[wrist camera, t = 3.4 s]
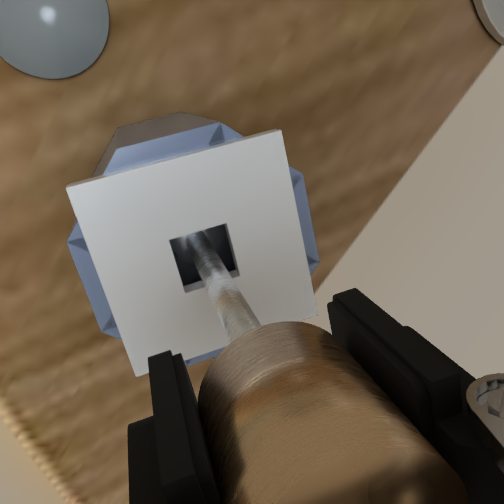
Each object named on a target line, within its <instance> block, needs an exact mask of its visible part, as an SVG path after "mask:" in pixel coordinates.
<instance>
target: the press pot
mask: <svg viewBox="0 0 504 504" xmlns="http://www.w3.org/2000/svg"><path fill="white" fill-rule="evenodd" d="M66 191H67V193H68V196H69V199H70V201H71V204H72V207H73V209H74V212H75V215H76V217H75V220H74V223H73V225H72V228H71V231H70V234H69V237H68V239H67V245H68V247H69V250H70V252H71V255H72V257H73V260H74V263H75V265H76V268H77V270H78V273H79V275H80V278H81V281H82V283H83V286H84V288H85V291H86V293H87V296H88V299H89V301H90V304H91V306H92V309H93V311H94V314H95V317H96V319H97V322H98V324H99V327H100V329H101V332H103V333H105V334H108V335H110V336H113V337H115V338H118V339H120V340H122V341H123V343H124V346H125V349H126V351H127V354H128V357H129V359H130V362H131V365H132V367H133V370H134V373H135V375H136V377H138V376H141V375H144V374H147V373H149V368H148V357H150V356H153V355H156V354H159V353H162V352H165V351H168V350H171V352H172V355H176V354H179V353H181V354H182V356H183V359H184V363H185V366H189V365H192V364H195V363H198V362H201V361H204V360H207V359H210V358H214V359H215V358H216V357H217V356H218V355H219V353H220V352H221V351H222V350H223V349H224V348H225V347H226V346H228V345H229V344H230V342H229V340H228V337H227V335H226V333H225V331H224V328H223V326H222V324H221V322H220V319H219V317H218V315H217V313H216V311H215V308H214V306H213V304H212V302H211V299H210V297H209V295H208V293H207V290H206V288H205V286H204V284H203V282H202V281H198V282H195V283H192V284H189V285H186V286H183V284H182V281H181V278H180V275H179V271H178V268H177V265H176V261H175V258H174V255H173V252H172V248H171V245H170V242H169V240H171V239H174V238H178V237H181V236H184V235H188V234H191V233H194V232H198V231H201V230H204V229H208V228H211V227H215V226H218V225H221V224H224V225H225V229H226V233H227V237H228V240H229V244H230V248H231V252H232V256H233V260H234V264H235V268H236V270H233V271H230V272H229V274H230V275H231V277H232V278H233V280H234V282H235V283H236V285H237V286H238V288H239V290H240V291H241V293H242V295H243V296H244V298H245V299H246V301H247V303H248V304H249V306H250V307H251V309H252V311H253V312H254V314H255V316H256V317H257V319H258V320H259V322H260V324H261V325H262V326H263V325H266V324H270V323H275V322H282V321H296V322H299V321H302V320H305V319H308V318H311V317H314V316H317V315H318V312H317V307H316V303H315V297H314V292H313V287H312V282H311V277H310V276H311V275H312V273H313V271H314V270H315V268H316V267H317V265H318V263H319V257H318V251H317V246H316V241H315V235H314V230H313V225H312V220H311V214H310V209H309V204H308V198H307V193H306V188H305V183H304V177H303V174H302V173H300V172H299V171H297V170H296V169H294V168H292V167H291V166H289V165H288V162H287V157H286V152H285V147H284V142H283V137H282V131H281V130H279V129H272V130H269V131H265V132H261V133H257V134H254V135H250V136H246V137H243V136H242V135H240V134H239V133H237V132H235V131H234V130H232V129H231V128H229V127H228V126H226V125H224V124H223V123H221V122H219V121H215V120H211V119H207V118H203V117H199V116H195V115H191V114H188V113H184V112H178V113H174V114H170V115H166V116H162V117H158V118H154V119H150V120H146V121H142V122H138V123H134V124H130V125H126V126H122V127H118V128H117V130H116V132H115V134H114V136H113V137H112V139H111V141H110V143H109V145H108V147H107V149H106V151H105V152H104V154H103V156H102V158H101V160H100V162H99V164H98V165H97V167H96V169H95V171H94V173H93V175H92V177H91V178H89V179H86V180H82V181H78V182H75V183H71V184H68V185H67V186H66Z"/></svg>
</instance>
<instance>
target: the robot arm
mask: <svg viewBox="0 0 504 504" xmlns="http://www.w3.org/2000/svg"><path fill="white" fill-rule="evenodd" d="M473 1H474V4H475V7H476V10H477V13H478V16H479V17H480V19H481V21H482V23H483V24H484V26H485V28H486V29H487V31H488V32H489V33H490V34H491V35H492V36H493V37H494V38H495V39H496V41H498V42H499V43H501V44H502V45H504V0H473ZM327 308H328V314H329V320H330V325H331V330H332V335H333V336H334V337H335V338H336V339H337V340H338V341H339V342H340V343H341V344H342V345H343V347H344V348H345V349H346V350H347V351H348V352H349V353H350V354H351V356H352V357H353V358H354V359H355V360H356V361H357V362H358V363H359V364H360V366H361V367H362V368H363V369H364V370H365V371H366V372H367V373H368V375H369V376H370V377H371V378H372V379H373V380H374V381H375V382H376V383H377V385H378V386H379V387H380V388H381V389H382V390H383V391H384V392H385V394H386V395H387V396H388V397H389V398H390V399H391V400H392V401H393V402H394V404H395V405H396V406H397V407H398V408H399V409H400V410H401V411H402V413H403V414H404V415H405V416H406V417H407V418H408V419H409V420H410V421H411V423H412V424H413V425H414V426H415V427H416V428H417V429H418V430H419V432H420V433H421V434H422V435H423V436H424V437H425V438H426V439H427V441H428V442H429V443H430V444H431V445H432V446H433V447H434V448H435V449H436V451H437V452H438V453H439V454H440V455H441V456H442V457H443V458H444V460H445V461H446V462H447V463H448V464H449V465H450V466H451V467H452V468H453V470H454V471H455V472H456V473H457V474H458V475H459V477H460V479H461V481H462V482H463V484H464V486H465V489H466V492H467V495H468V501H469V504H504V373H498V374H491V375H486V376H483V377H481V378H478V379H475V378H474V377H473V376H471V375H470V374H469V373H468V372H466V371H465V370H464V369H463V368H461V367H460V366H458V364H456V363H455V362H454V361H453V360H451V359H450V358H449V357H448V356H446V355H445V354H444V353H442V352H441V351H440V350H439V349H438V348H436V347H435V346H434V345H432V344H431V343H430V342H429V341H427V340H426V339H425V338H424V337H422V336H421V335H420V334H419V333H417V332H416V331H415V330H414V329H412V328H411V327H409V326H402V325H401V324H400V323H398V322H397V321H396V320H395V319H394V318H392V317H391V316H390V315H388V314H387V313H386V312H385V311H383V310H382V309H381V308H380V307H379V306H377V305H376V304H375V303H374V302H373V301H371V300H370V299H369V298H368V297H366V296H365V295H364V294H363V293H361V292H360V291H359V290H358V289H356V288H353V289H350V290H347V291H344V292H341V293H338V294H335V295H333V301H332V302H329V303H328V304H327ZM148 368H149V377H150V387H151V396H152V405H153V415H154V416H151V417H148V418H145V419H143V420H140V421H137V422H134V423H131V424H129V425H128V468H129V504H222V502H221V498H220V494H219V490H218V486H217V483H216V479H215V475H214V471H213V467H212V463H211V459H210V455H209V451H208V447H207V443H206V439H205V435H204V431H203V427H202V423H201V419H200V415H199V411H198V402H197V399H196V396H195V393H194V390H193V387H192V384H191V381H190V378H189V375H188V372H187V369H186V366H185V363H184V359H183V356H182V354H181V353H179V354H176V355H172V352H171V350H168V351H165V352H162V353H159V354H156V355H153V356H150V357H148Z"/></svg>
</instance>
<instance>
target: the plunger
mask: <svg viewBox="0 0 504 504" xmlns="http://www.w3.org/2000/svg"><path fill="white" fill-rule="evenodd" d="M169 242H170V245H171V248H172V252H173V255H174V258H175V261H176V265H177V268H178V271H179V275H180V278H181V281H182V284H183V286H186V285H189V284H192V283H195V282H198V281H202V282H203V284H204V286H205V288H206V290H207V293H208V295H209V297H210V299H211V302H212V304H213V306H214V308H215V311H216V313H217V315H218V317H219V319H220V322H221V324H222V326H223V328H224V331H225V333H226V335H227V337H228V340H229V342H230V344H229V345H228V346H226V347H225V348H224V349H223V350H222V351H221V352H220V353H219V355H218V356H217V357H216V358H215V359H214V361H213V362H212V364H211V365H210V366H209V368H208V370H207V372H206V374H205V376H204V378H203V381H202V383H201V386H200V391H199V395H198V411H199V415H200V419H201V423H202V427H203V431H204V435H205V439H206V443H207V447H208V451H209V455H210V459H211V463H212V467H213V471H214V475H215V479H216V483H217V486H218V490H219V494H220V498H221V502H222V504H469V501H468V495H467V492H466V489H465V486H464V484H463V482H462V481H461V479H460V477H459V475H458V474H457V473H456V472H455V471H454V470H453V468H452V467H451V466H450V465H449V464H448V463H447V462H446V461H445V460H444V458H443V457H442V456H441V455H440V454H439V453H438V452H437V451H436V449H435V448H434V447H433V446H432V445H431V444H430V443H429V442H428V441H427V439H426V438H425V437H424V436H423V435H422V434H421V433H420V432H419V430H418V429H417V428H416V427H415V426H414V425H413V424H412V423H411V421H410V420H409V419H408V418H407V417H406V416H405V415H404V414H403V413H402V411H401V410H400V409H399V408H398V407H397V406H396V405H395V404H394V402H393V401H392V400H391V399H390V398H389V397H388V396H387V395H386V394H385V392H384V391H383V390H382V389H381V388H380V387H379V386H378V385H377V383H376V382H375V381H374V380H373V379H372V378H371V377H370V376H369V375H368V373H367V372H366V371H365V370H364V369H363V368H362V367H361V366H360V364H359V363H358V362H357V361H356V360H355V359H354V358H353V357H352V356H351V354H350V353H349V352H348V351H347V350H346V349H345V348H344V347H343V345H342V344H341V343H340V342H339V341H338V340H337V339H336V338H335V337H334V336H333V335H331V334H330V333H329V332H327V331H325V330H324V329H322V328H320V327H317V326H315V325H312V324H308V323H304V322H296V321H282V322H275V323H270V324H266V325H263V326H262V325H261V324H260V322H259V320H258V319H257V317H256V316H255V314H254V312H253V311H252V309H251V307H250V306H249V304H248V303H247V301H246V299H245V298H244V296H243V295H242V293H241V291H240V290H239V288H238V286H237V285H236V283H235V282H234V280H233V278H232V277H231V275H230V274H229V272H230V271H233V270H236V268H235V264H234V260H233V256H232V252H231V248H230V244H229V240H228V237H227V233H226V229H225V225H224V224H221V225H218V226H215V227H211V228H208V229H204V230H201V231H198V232H194V233H191V234H188V235H184V236H181V237H178V238H174V239H171V240H169Z"/></svg>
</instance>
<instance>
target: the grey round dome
mask: <svg viewBox="0 0 504 504" xmlns="http://www.w3.org/2000/svg"><path fill="white" fill-rule="evenodd" d="M108 32H109V13H108V7H107V3H106V0H0V56H1V57H2V58H3V59H4V60H5V61H7V62H8V63H9V64H10V65H12V66H14V67H15V68H17V69H18V70H20V71H22V72H24V73H27V74H30V75H32V76H36V77H40V78H46V79H62V78H68V77H71V76H74V75H77V74H79V73H81V72H83V71H84V70H86V69H87V68H89V67H90V66H91V65H92V64H93V63H94V62H95V61H96V60H97V58H98V57H99V56H100V54H101V52H102V51H103V49H104V46H105V44H106V41H107V37H108Z"/></svg>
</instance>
